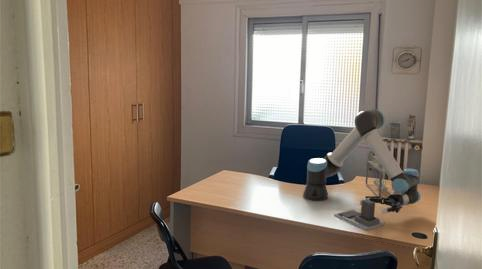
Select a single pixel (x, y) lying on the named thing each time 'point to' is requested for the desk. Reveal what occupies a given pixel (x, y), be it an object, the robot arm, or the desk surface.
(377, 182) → the newton's cradle
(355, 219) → the charging dock
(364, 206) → the brick
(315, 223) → the desk surface
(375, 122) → the robot arm
